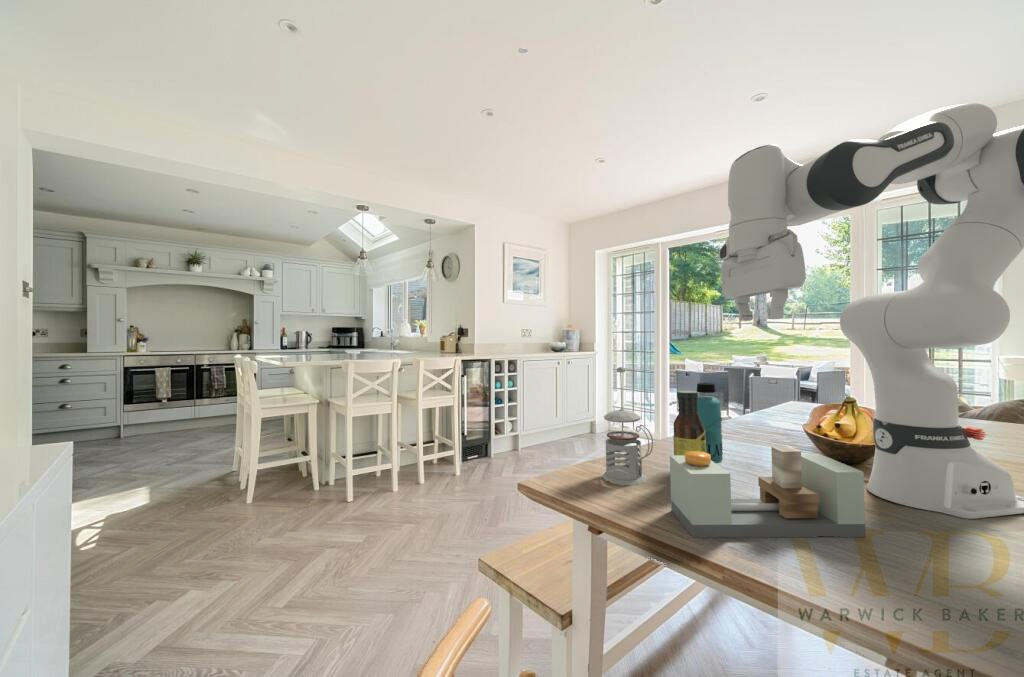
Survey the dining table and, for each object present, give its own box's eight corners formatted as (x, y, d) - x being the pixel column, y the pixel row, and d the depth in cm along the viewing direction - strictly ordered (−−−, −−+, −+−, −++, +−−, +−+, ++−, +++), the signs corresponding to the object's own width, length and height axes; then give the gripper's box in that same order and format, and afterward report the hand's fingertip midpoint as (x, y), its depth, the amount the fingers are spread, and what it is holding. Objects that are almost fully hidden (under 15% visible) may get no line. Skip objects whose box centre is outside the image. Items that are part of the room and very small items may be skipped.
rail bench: (819, 509, 73) (818, 453, 73) (865, 536, 63) (863, 472, 63) (671, 510, 74) (669, 455, 74) (692, 537, 64) (691, 474, 64)
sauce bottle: (711, 492, 82) (708, 393, 82) (678, 491, 83) (675, 393, 83) (702, 481, 88) (700, 389, 88) (672, 480, 89) (669, 389, 89)
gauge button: (705, 486, 71) (704, 450, 71) (715, 495, 67) (714, 457, 67) (682, 486, 71) (681, 451, 71) (691, 495, 67) (689, 458, 67)
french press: (615, 467, 99) (612, 364, 99) (662, 478, 91) (658, 366, 91) (593, 478, 92) (589, 367, 92) (641, 491, 84) (638, 369, 84)
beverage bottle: (697, 470, 95) (695, 384, 95) (690, 461, 102) (687, 381, 102) (727, 470, 94) (725, 384, 94) (718, 461, 101) (715, 381, 101)
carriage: (788, 499, 72) (786, 442, 72) (819, 519, 64) (818, 455, 64) (758, 499, 72) (757, 443, 72) (786, 519, 64) (785, 456, 64)
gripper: (816, 224, 61) (819, 316, 62) (746, 252, 82) (748, 321, 82) (773, 226, 62) (776, 317, 62) (714, 254, 82) (716, 322, 82)
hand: (759, 319), depth 72 cm, fingers open, 8 cm apart
